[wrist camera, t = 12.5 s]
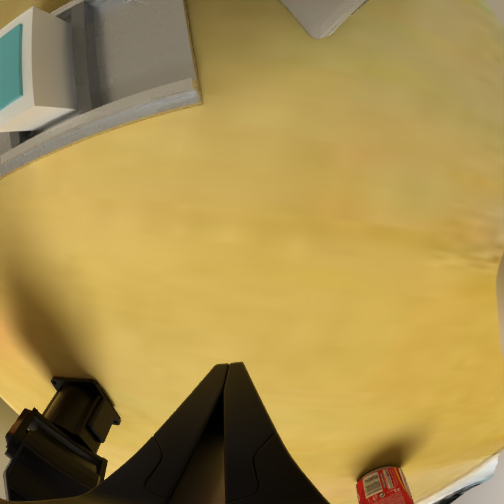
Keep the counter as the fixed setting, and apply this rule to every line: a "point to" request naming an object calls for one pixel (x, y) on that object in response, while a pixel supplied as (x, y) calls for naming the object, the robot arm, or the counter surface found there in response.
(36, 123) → the module
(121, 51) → the grey tray
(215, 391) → the robot arm
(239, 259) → the counter surface
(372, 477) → the soda can
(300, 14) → the electrical switch
